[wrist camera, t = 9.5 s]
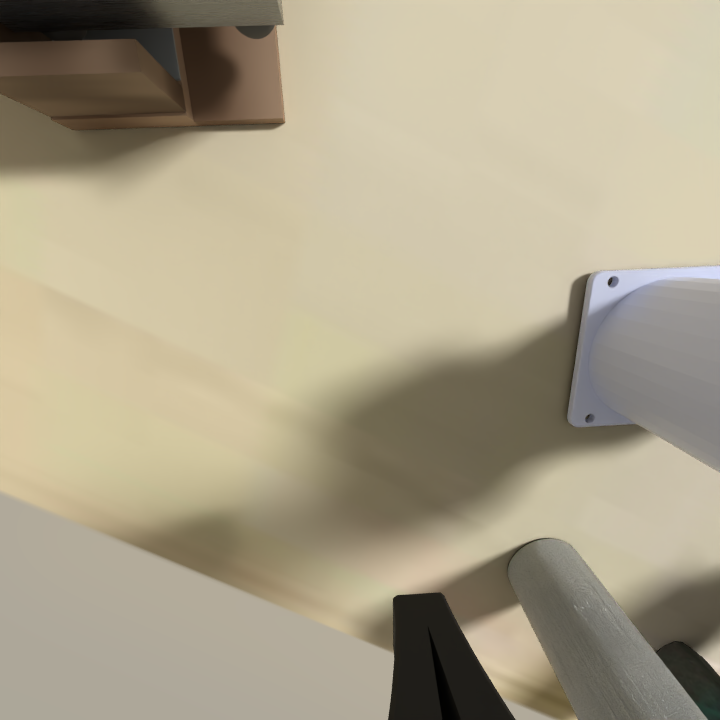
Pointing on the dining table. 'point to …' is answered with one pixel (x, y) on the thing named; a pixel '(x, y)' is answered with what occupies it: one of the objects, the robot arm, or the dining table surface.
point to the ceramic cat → (694, 677)
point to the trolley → (138, 16)
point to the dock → (145, 77)
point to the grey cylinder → (593, 640)
